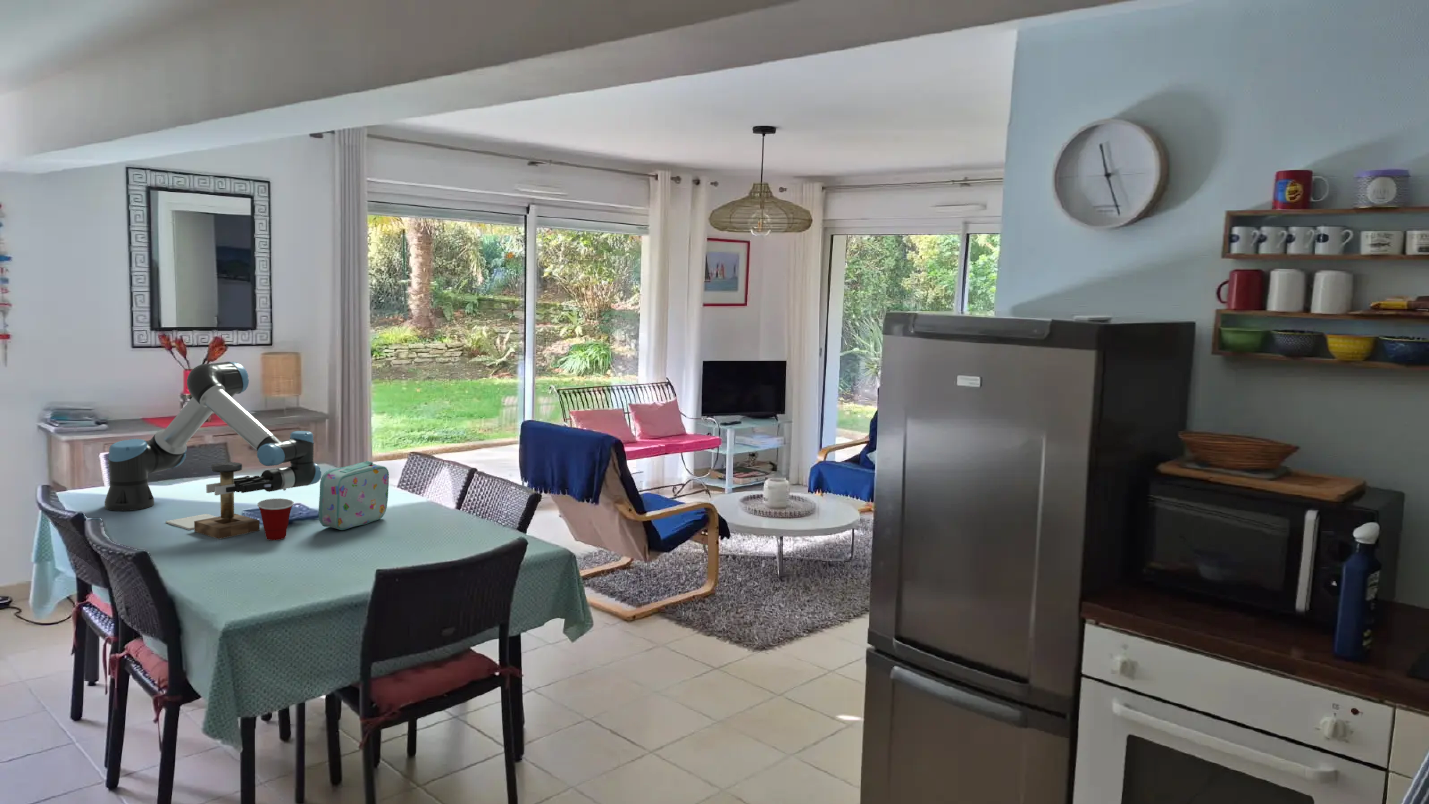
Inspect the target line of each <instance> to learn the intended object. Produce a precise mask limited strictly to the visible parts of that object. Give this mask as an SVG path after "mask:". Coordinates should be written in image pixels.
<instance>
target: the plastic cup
mask: <svg viewBox="0 0 1429 804" xmlns="http://www.w3.org/2000/svg"><path fill="white" fill-rule="evenodd" d="M256 505H257V507H258V508H259V512H260V516H261V521H262V526H263V529H264V534H265V537H266V540H267V541H268V540H269V541H281V540H284V539H286V536H287V532H288V527H289V521H290V515H291V512H292V511H291V510H292V508H293V506H294V501H293V500H291V499H288V498H269V499H264V500H260V501H259V502H258V503H257V504H256Z"/></svg>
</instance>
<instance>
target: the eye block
mask: <svg viewBox="0 0 1429 804" xmlns="http://www.w3.org/2000/svg"><path fill="white" fill-rule="evenodd" d="M260 526H261V525H260V520H259V519H256V518H253V517H248V516H245V515H241V514H237V513H234V517H233V518H229V519H223V518H221V515H220V516H216V517H214V518H209V519H203V520H198V521H194V529H193V530H194V532H195V533H197V534H201V535H205V536H208V537H211V538H214V539H218V540H221V539H227V538H231V537H236V536H240V535H246V534H250V533H254V532H259V531H261V530H260Z"/></svg>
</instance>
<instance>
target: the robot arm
mask: <svg viewBox="0 0 1429 804" xmlns="http://www.w3.org/2000/svg"><path fill="white" fill-rule="evenodd" d="M249 382H250V379H249V374H248V372H247V369H246V368H245V366H243V364H241V363H238V362H236V361H235V362H234V361H224V362H212V363H202V364H199V365H197V366H195V367H194V368H192V369H191V371H189V373H188V375H187V378H186V386H187V391H188V392H189V393H190V396H191V398H190V399H189V401H187V403H186V404H185V405H184V407H182V409H181V410H180V411H179V412H178V414H177V415H176V416H175V417H174V418H173V419H172V421H171V422H170V423H169V424H168V426H166V428H164V429H160V430H158V431H157V432H155V434H154V435H153V436H152V437H151V438H150V439H149V440H148V441H146V440H145V439H141V438H132V439H124V440H120V441H117V442H114V443H112V444H111V445H110V446H109V448H108V457H107V459H108V469H109V488H108V491H107V494H106V496H105V499H104V509H105V510H107V511H108V510H109V511H117V512H118V511H119V512H124V511H125V512H126V511H137V510H143V509H148V508H151V507H153V506H155V498H154V496H153V493H152V490H151V488H150V485H149V477H148V475H149V474H152V473H158V472H162V471H170V470H173V469H174V468H178V467H179V466H180V465H182V464H183V463H184V461H185V460H186V458H187V454H186V453H187V449H188V448H187V445H188V444H187V443H188V442H189V441H190V440H191V439H192V437H193V436H194V435H195V434H196V433H197V431H198V430H199V429H200V428H201V427H202V426H203V425H204V423H205V422H206V421H207V420H208V419H209V418H210V416H211V415H212V414H215V415H216V416H217V417H218V418H219V419H220V420H222V421H223V422H224V423H225V424H226V425H227V426H228V427H230V428H231V430H232V431H234V432H235V433H236V434H237V435H238V436H239V437H241V438H242V439H243V440H244V441H245V442H246V443H247V444H249V445H250V446H251V447H252V448H253V449H254V450H255V451H256V457H257V459H258V462H259V463H261V465H263V466H265V467H273V466H279V465H281V464H285V463H290V466H284V467H277V468H273V469H266V470H265V469H264V470H263V471H262V473H261V475H253V476H250V475H246V476H243V477H242V476H241V477H234V484H230V485H223V486H220V482H214V483H209V484H206V489H205V490H206V491H205V492H206V493H207V494H210V493H211V494H212V493H214V496H220V495H222V494H228V493H234V494H235V493H241V494H244V493H245V494H246V493H250V492H259V491H263V490H264V491H265V492H268V493H270V492H275V491H276V492H277V491H281V490H282V491H287V489H293V488H298V487H307V486H311V485H314V484H317V483H318V482H320V481H321V478H322V471H321V467H320V466H319V464H318V463H315V462H314V446H315V445H314V444H315V442H314V433H313V432H311V431H308V430H296V431H292V432H290V436H289V438H288V439H285V440H280V439H279V438H278V437H277V436H275V435H274V434H273V432H271V431H270V430H269V429H267V428H266V427H265V426H264V425H263V424H262V423H261V422H260V421H259V420H258V419H256V418H255V417H254V416H253V415H252V414H251V413H249V411H247V410H246V408H245V407H243V406H241V404H240V403H239V402H238V401H236V400H235V399H234V398H233V397H234V396H235V395H236V394H237V395H238V394H242V393H244V392H245V391H247V389H248V387H249V385H250V383H249Z"/></svg>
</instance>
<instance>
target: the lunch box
mask: <svg viewBox="0 0 1429 804" xmlns="http://www.w3.org/2000/svg"><path fill="white" fill-rule="evenodd" d="M389 483H390V473H389V469H388V468H387V467H386V466H384V465H379V464H376V463H374V462H373V461H370V460H365V461H362V462H358V463H355V464H351V465H347V466H341V467H338V468H337V467H336V468H331V469H328V470H326V471H324V473H323V475H321V478H320V480H319V497H318V498H319V500H318V513H317V515H318V520H319V523H320V525H322V526H323V527H325V528H327V527H330V528H334V529H337V530H341V531H344V530H348V529H350V528H355V527H358V526H364V525H367V524H369V523H372V522H375V521H378V520H380V519H382V518H383V517H384V515H385V514H386V511H387V508H388V499H389V487H390V486H389Z"/></svg>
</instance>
